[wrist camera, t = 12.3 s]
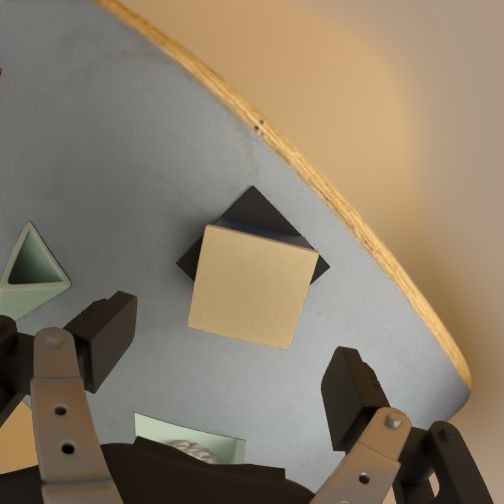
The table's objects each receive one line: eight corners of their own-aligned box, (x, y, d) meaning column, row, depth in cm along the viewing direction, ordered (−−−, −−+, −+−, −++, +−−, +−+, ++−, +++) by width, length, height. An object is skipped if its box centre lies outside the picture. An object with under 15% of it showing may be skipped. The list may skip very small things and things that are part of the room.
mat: (177, 262, 22) (175, 263, 22) (253, 185, 21) (253, 185, 20) (251, 332, 23) (251, 334, 23) (329, 265, 22) (330, 267, 21)
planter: (29, 378, 27) (64, 318, 20) (-15, 360, 23) (-3, 286, 16) (38, 326, 32) (81, 249, 26) (-1, 307, 29) (27, 220, 22)
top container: (219, 213, 21) (205, 225, 16) (307, 235, 21) (319, 253, 16) (202, 295, 22) (186, 326, 18) (284, 315, 23) (288, 350, 18)
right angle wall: (245, 440, 27) (240, 497, 20) (227, 489, 30) (221, 534, 22) (134, 412, 27) (109, 462, 19) (138, 467, 30) (122, 508, 22)
